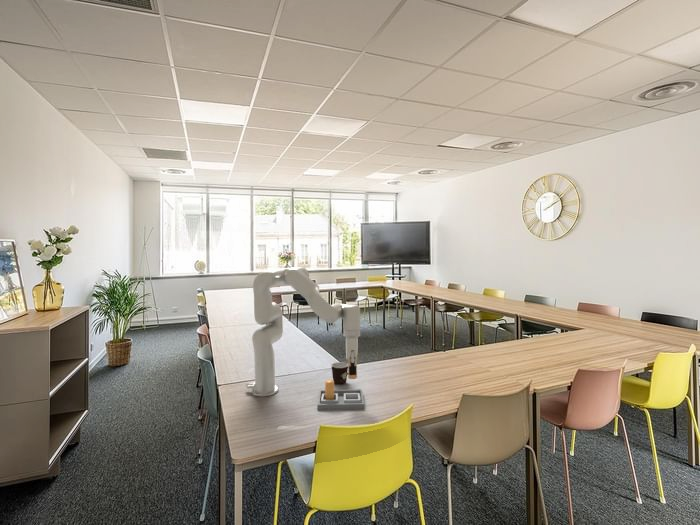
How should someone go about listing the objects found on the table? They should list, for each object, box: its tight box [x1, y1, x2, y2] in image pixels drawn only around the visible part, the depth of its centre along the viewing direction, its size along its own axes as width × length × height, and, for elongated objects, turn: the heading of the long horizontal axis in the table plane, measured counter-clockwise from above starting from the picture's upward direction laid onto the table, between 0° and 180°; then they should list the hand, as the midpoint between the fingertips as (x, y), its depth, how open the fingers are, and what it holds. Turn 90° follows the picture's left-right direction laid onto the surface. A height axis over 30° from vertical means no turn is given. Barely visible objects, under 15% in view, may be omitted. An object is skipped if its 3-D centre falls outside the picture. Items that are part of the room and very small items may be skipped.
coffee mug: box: [331, 361, 348, 386], centre depth 175 cm, size 12×9×10 cm
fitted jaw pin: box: [324, 379, 335, 400], centre depth 152 cm, size 4×4×9 cm
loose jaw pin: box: [347, 358, 358, 380], centre depth 152 cm, size 4×4×9 cm
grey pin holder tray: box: [316, 389, 365, 411], centre depth 153 cm, size 20×15×3 cm
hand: (352, 372), depth 152 cm, fingers closed on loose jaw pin, 4 cm apart
